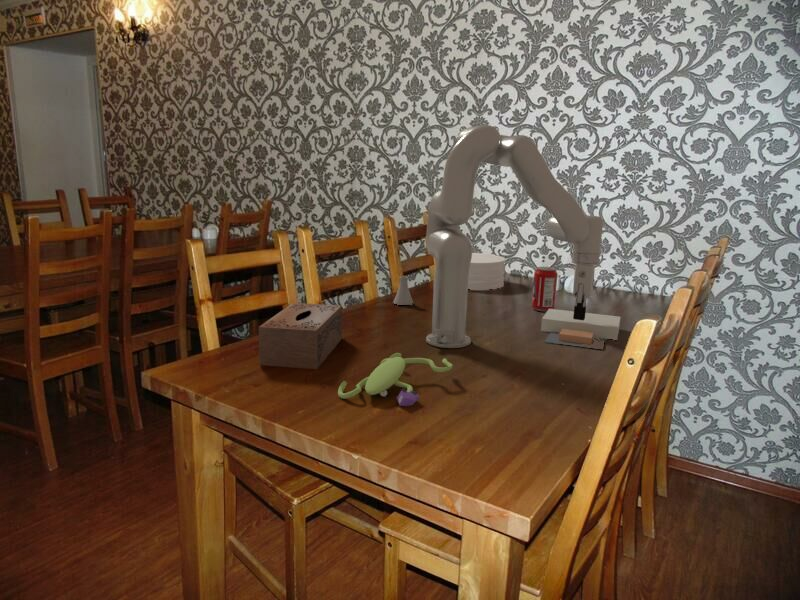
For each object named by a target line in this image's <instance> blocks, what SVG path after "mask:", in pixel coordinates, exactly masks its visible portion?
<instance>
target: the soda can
mask: <svg viewBox="0 0 800 600" xmlns="http://www.w3.org/2000/svg"><path fill="white" fill-rule="evenodd" d="M533 274H534V275H533V286H532V287H533V288H532V298H531V299H532V300H531V307H532V309H534V310H535V311H538V312H544V313H546V312H547V311H548V309H555V307H556V305H555V304H556V298H557V297H556V295H557V285H558V284H557V283H558V272H557V268H555V267H550V266H537V267H536V270H535V271H534V273H533Z"/></svg>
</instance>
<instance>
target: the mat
mask: <svg viewBox="0 0 800 600" xmlns="http://www.w3.org/2000/svg"><path fill="white" fill-rule="evenodd" d="M593 338H594V337H593ZM596 338H597V337H596ZM596 338H594V339H595V340H597V341H599V340H598V339H596ZM599 339H600V341H606V340H607V339H605V338H602V339H601V338H599ZM600 341H599V342H600ZM606 342H607V341H606ZM544 343H545V344H550V343H554V344H553V345H558V344H563V345H562V346H565V345H572V346H571V347H573V346H580V347H581V346H583V345H582V343H574V342H567V341H560V340H559V333H558V332H549V334H548V335H547V338H546V339H545V340H544ZM593 343H594V340H593V341H592V344H593ZM588 345H589V344H588ZM588 345H587V346H588ZM580 347H579V348H580ZM588 347H591V346H588Z"/></svg>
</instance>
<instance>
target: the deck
mask: <svg viewBox="0 0 800 600" xmlns="http://www.w3.org/2000/svg"><path fill="white" fill-rule="evenodd" d="M573 315H574V310H572V311H571V310H567V309H566V310H565V309H557V308H556V309H555V308H554V309H548V311H547V312H545V314H544V315H543V317H542V318H541V323H540V325H541V327H540V332H546V333H550V332H558V333H560V332H561V330H562V329H569V330H577V331H585V332H593V333H594V336H593V337H599V338H606V340H607V339H613V340H612V341H614V340H617V341H618V337H619V332H620V325H621V318H622V317H621V316H616V315H610V314H609V315H608V314H601V313H600V314H599V313H591V312H586V313H585V319H584V320H576V319H573Z"/></svg>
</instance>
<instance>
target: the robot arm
mask: <svg viewBox="0 0 800 600" xmlns="http://www.w3.org/2000/svg"><path fill="white" fill-rule="evenodd" d="M482 163H484V164H488V165H493V166H499V167H505V168H507V167H508V168H509V167H510V168H511V171H512V172H513V174H514V175H515V177H516V178H517V180H518V182H519V183H520V185H521V187H522V188H523V191H524V192H525V193H526V195H527V196H528V197H529V198H530V199H531V200H533V202H535V203H537V204H538V205H540V207H543V208H544V209H546V211H548V212H549V213H550V214H551V217H550V218H549V219H548V220H547V221H546V226H545V228H546V229H545V230H546V233H547V234H548V236H550V237H551V238H552V239H554V240H557V241H559V242H566V243H568V244H569V243H570V244H573V245H572V247H573V248H572V254H571V255H572V256H571V263H572V264H574V265H575V267H574V276H573V277H574V278H573V287H572V288H573V290H572V297H573V298H575V302H574V304H575V305H574V306H573V307H574V308H573V311H574V315H573V319H576V320H584V319H585V313H587V300H590V299H591V298H592V296H593V291H594V280H595V271H596V270H595V269H596V266H598V265H599V263H600V255H601V253H600V252H601V247H602V238H603V237H602V236H603V228H604V220H603V218H602V217H601V216H599V215H598V216H597V215H586V214H585V213H584V212H583V209H582V208H581V206H580V204H579V203H578V201H577V200H576V199H575V198H574V197H573V196H572V195H571V194H570V192H569V191H567V190H566V189H565V187H564V186H563V185H562V184H561V183H560V182H559V181H558V180H557V179H556V178H555V177H554V174H553V173H552V171H551V169H550V168H549V166H548V165H547V163H546V161H545V159H544V158H543V156H542V153H541V152H540V151H539V148H538V147H537V145H536V144H535V142H534V140H533V139H532V138H531V137H529V136H528V135H524V134H522V135H521V134H517V135H516V134H515V135H504V134H500V132H499V131H498V129H497V128H496V127H494V126H492V125H491V124H489V125H488V124H481V125H476V126H469V127H467V128H464V129H463V130H461V132H460V133H459V134H458V136H457V138H456V144H455V145H454V146H453V147H452V149H451V150H450V152H449V154H448V156H447V158H446V160H445V164H444V170H443V177H442V184H441V185H442V186H441V189H439V190H438V191H437V192H435V193H434V194H433V196H432V197H431V199H430V201H429V205H428V210H427V211H428V213H427V221H426V222H427V223H426V224H427V225H426V236H425V238H426V239H425V242H426V243H425V244H426V245H425V246H426V249H427V252H428V253H429V255H430V256H431V257H433V258H434V259H435V260H436V262H435V268H434V274H433V285H432V286H433V296H432V298H433V299H432V319H431V320H432V321H431V324H432V325H431V333H428V335H426V337H425V341H426V343H428V344H429V345H431V346H434V347H436V348H443V349H460V348H465V347H467V346H469V345H471V343H472V342H471V341H472V339H471V337H470V336H468V335H467V333H466V332H467V328H466V327H467V312H468V311H467V310H468V295H469V294H468V291H469V290H468V276H469V268H470V263H471V259H472V253H473V247H472V246H473V245H472V242H471V240H470V239H469V238H468V236H467V235H465V233H463V232H461V231H459V229H460V226H462V225H464V224H467V223H468V221H469V220H470V219H471V216H472V214H473V213H472V212H473V206H474V205H473V202H474V192H475V182H476V177H477V176H476V175H477V172H478V169H479V167H480V166H481V164H482Z"/></svg>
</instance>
